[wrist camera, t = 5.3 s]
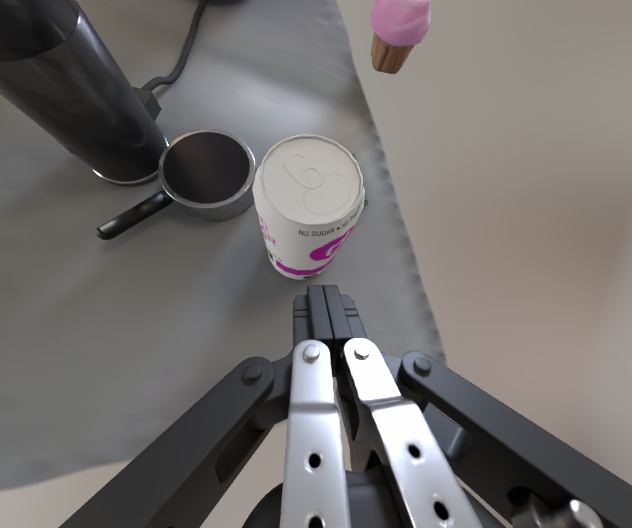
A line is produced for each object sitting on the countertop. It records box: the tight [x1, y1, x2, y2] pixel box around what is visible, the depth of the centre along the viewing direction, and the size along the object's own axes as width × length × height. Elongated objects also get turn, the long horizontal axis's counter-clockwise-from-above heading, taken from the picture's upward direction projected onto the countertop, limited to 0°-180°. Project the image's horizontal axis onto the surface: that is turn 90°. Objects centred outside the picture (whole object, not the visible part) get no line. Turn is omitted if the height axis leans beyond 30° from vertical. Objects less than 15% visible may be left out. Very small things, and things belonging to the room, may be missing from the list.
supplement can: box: [252, 134, 365, 280], centre depth 23 cm, size 8×8×15 cm
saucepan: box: [96, 129, 257, 240], centre depth 28 cm, size 19×11×4 cm, turn 132°
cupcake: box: [371, 0, 430, 74], centre depth 36 cm, size 9×9×10 cm
